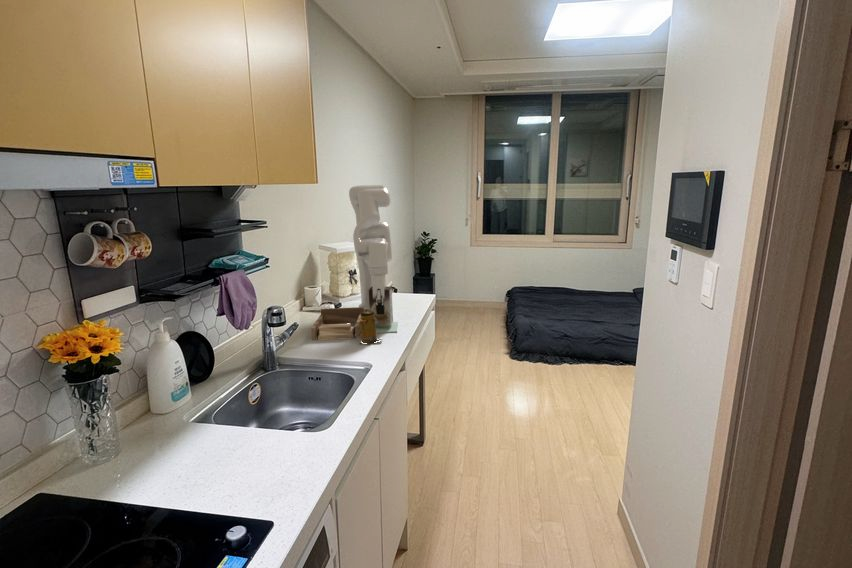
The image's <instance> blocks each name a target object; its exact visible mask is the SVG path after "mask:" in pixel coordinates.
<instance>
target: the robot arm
mask: <svg viewBox="0 0 852 568" xmlns="http://www.w3.org/2000/svg"><path fill="white" fill-rule="evenodd" d="M348 196H349V201H350V204H351V206H352V209H353V211H354V214H355V219H356V225H355V227H354V230H353V234H352V235H353V245H354V251H355V255H356V256H355V257H356V260H357V264H358V272H359V284H360V285H359V288H360V299H361V303H360V304H359V305H358V307H364V311H368V310H370V306H369V289H370V288H371V286H373V299H375V298H376V311H377V315H379V314H384V305H383V298H385V288H386V287H387V283H386V282H387V281H386V275H388V274H389V266H388V263H390V262H391V261H392V258H393V250H392V237H391V229H390V226H389V223H387V222H386V221H381V216H380V209H379V208H388V207H389V206H390V204H391V196H390V192H389V190H388V188H387V187H386V186H384V185H383V184H372V185H371V184H369V185H368V184H367V185H366V184H365V185H364V184H363V185H355V186H352V187H350V188H349V190H348ZM381 296H382V298H381ZM381 299H382V301H381Z"/></svg>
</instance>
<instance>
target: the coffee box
mask: <svg viewBox="0 0 852 568" xmlns="http://www.w3.org/2000/svg"><path fill="white" fill-rule="evenodd" d="M392 289H393V288H392V286H386V288H385V298H383V305H384V314H379V315H377V311H376V298H375V299H373V286H371V288H370V289H369V306H370V311H373V312H374V318H375V320H376V326H391V325H392V323H393V322H394V314H393V313H394V312H393V291H392ZM381 298H382V296H381ZM381 301H382V299H381Z"/></svg>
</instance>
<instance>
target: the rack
mask: <svg viewBox="0 0 852 568" xmlns="http://www.w3.org/2000/svg"><path fill="white" fill-rule="evenodd" d="M362 311H365V310H364V307H359V306H358V307H357V306H356V307H354V306H353V307H331V308H330V307H329V308H320V314H319V316H318V318H317V319H316V320H315V322H314V323H313V324H312V326H311V327H310V334H311V340H312V341H316V340H317V339H318V335H319V327H320V325H327V324H347V323H353V324H355V325H354V326H353V327H354V333H355V335H354V337H355V339H360V338H361V335H360V334H361V327H360V319H361V312H362Z"/></svg>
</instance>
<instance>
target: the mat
mask: <svg viewBox="0 0 852 568" xmlns="http://www.w3.org/2000/svg"><path fill="white" fill-rule="evenodd" d="M398 326H399V322H398V321H393V323H392V325H391V326H376V334H388V333H389V334H390V333H391V334H392V333H393V332H395V333H398Z"/></svg>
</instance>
